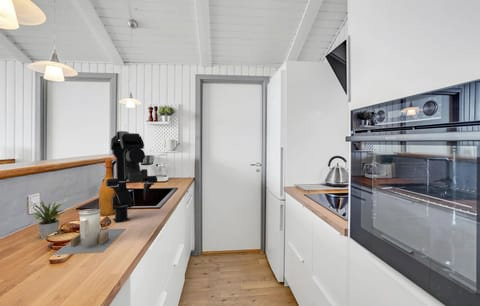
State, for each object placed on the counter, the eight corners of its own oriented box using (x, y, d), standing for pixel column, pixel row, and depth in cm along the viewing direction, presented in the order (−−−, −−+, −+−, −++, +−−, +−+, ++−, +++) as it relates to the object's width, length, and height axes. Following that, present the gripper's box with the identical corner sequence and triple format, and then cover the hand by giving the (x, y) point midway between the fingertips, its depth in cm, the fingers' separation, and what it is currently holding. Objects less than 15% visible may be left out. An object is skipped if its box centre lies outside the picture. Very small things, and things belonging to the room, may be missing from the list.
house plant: (13, 246, 91) (11, 202, 90) (33, 233, 104) (32, 195, 104) (58, 242, 95) (57, 200, 94) (72, 230, 108) (71, 193, 108)
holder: (87, 232, 105) (87, 223, 105) (126, 231, 107) (126, 221, 107) (51, 258, 81) (51, 245, 81) (103, 255, 83) (102, 243, 83)
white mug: (85, 239, 94) (84, 208, 94) (104, 239, 95) (103, 208, 95) (72, 249, 86) (71, 215, 85) (93, 248, 86) (92, 214, 86)
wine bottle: (114, 210, 142) (113, 158, 141) (123, 212, 136) (122, 158, 135) (95, 214, 134) (94, 159, 133) (104, 217, 128) (103, 159, 127)
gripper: (108, 164, 89) (109, 207, 88) (160, 162, 99) (162, 201, 99) (104, 165, 98) (106, 204, 97) (152, 163, 109) (154, 198, 108)
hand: (133, 202), depth 100 cm, fingers open, 9 cm apart
